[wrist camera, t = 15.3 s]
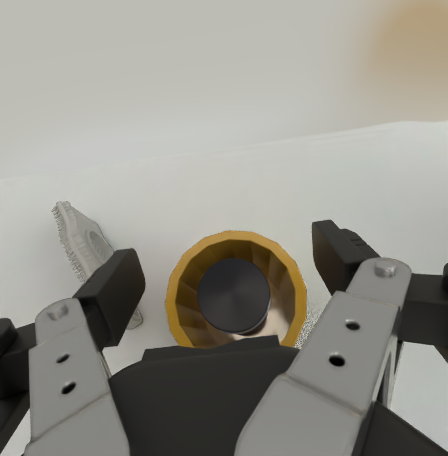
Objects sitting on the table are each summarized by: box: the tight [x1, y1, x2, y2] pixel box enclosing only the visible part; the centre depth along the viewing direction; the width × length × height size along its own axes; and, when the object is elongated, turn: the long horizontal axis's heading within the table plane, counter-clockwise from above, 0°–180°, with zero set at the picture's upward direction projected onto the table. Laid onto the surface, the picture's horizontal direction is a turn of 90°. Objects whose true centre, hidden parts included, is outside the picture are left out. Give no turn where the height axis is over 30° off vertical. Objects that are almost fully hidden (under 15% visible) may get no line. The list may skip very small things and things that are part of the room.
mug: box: [165, 230, 307, 349], centre depth 19 cm, size 11×8×9 cm
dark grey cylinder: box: [197, 258, 271, 336], centre depth 18 cm, size 4×4×10 cm
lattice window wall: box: [51, 201, 143, 329], centre depth 24 cm, size 12×2×6 cm, turn 33°
